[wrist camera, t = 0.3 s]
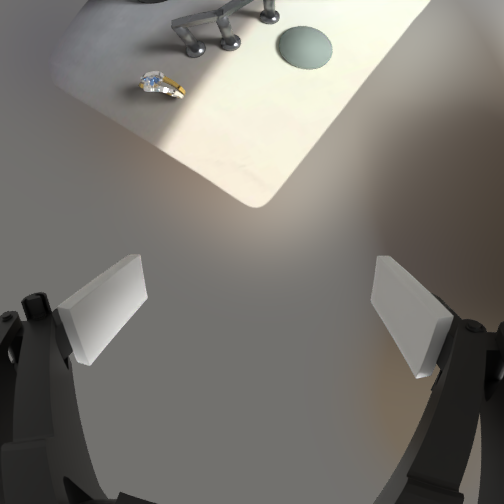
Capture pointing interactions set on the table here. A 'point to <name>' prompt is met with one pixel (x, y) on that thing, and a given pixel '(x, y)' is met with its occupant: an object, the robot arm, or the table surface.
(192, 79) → the table surface
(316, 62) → the felt coaster
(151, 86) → the ring
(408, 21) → the table surface
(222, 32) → the bent grey rail
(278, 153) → the table surface
